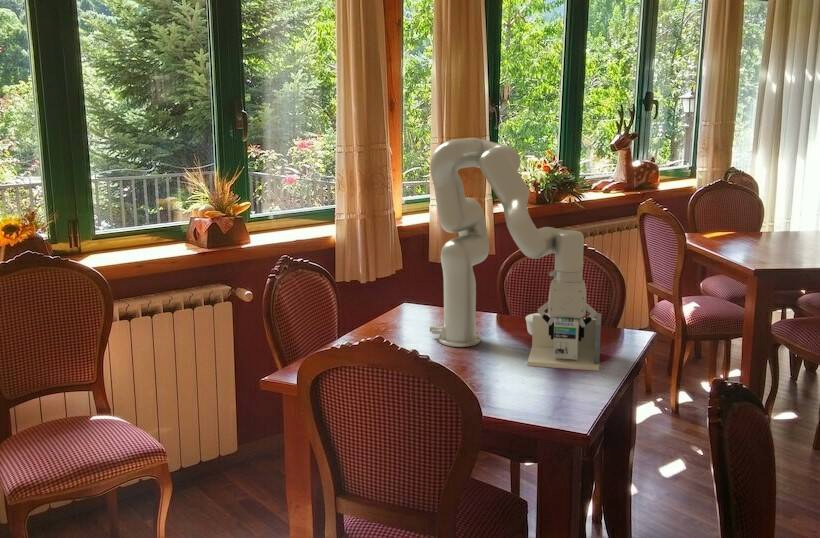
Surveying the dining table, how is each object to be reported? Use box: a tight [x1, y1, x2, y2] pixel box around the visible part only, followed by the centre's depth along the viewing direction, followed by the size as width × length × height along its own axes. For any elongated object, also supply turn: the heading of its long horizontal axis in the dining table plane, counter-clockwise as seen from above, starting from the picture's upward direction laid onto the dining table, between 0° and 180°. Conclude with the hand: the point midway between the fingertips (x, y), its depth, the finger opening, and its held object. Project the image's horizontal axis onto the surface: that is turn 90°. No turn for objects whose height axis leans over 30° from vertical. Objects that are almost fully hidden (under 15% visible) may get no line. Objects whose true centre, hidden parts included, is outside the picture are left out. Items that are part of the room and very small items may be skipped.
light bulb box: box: [553, 318, 579, 360], centre depth 220 cm, size 11×7×11 cm, turn 168°
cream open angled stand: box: [527, 315, 600, 371], centre depth 221 cm, size 19×15×10 cm
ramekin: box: [525, 312, 549, 336], centre depth 246 cm, size 11×11×5 cm
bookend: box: [594, 312, 602, 366], centre depth 219 cm, size 1×12×11 cm, turn 167°
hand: (566, 338), depth 220 cm, fingers closed on light bulb box, 6 cm apart
